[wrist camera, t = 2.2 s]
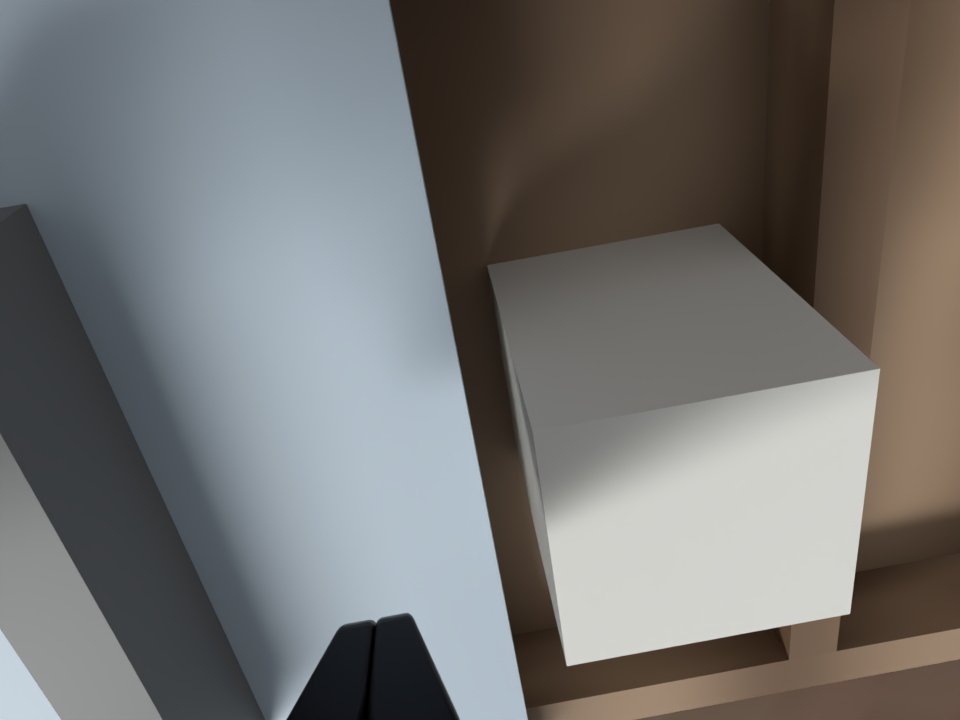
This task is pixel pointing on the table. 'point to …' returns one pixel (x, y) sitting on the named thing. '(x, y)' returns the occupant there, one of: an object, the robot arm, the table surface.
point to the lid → (225, 366)
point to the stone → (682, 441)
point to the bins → (755, 224)
